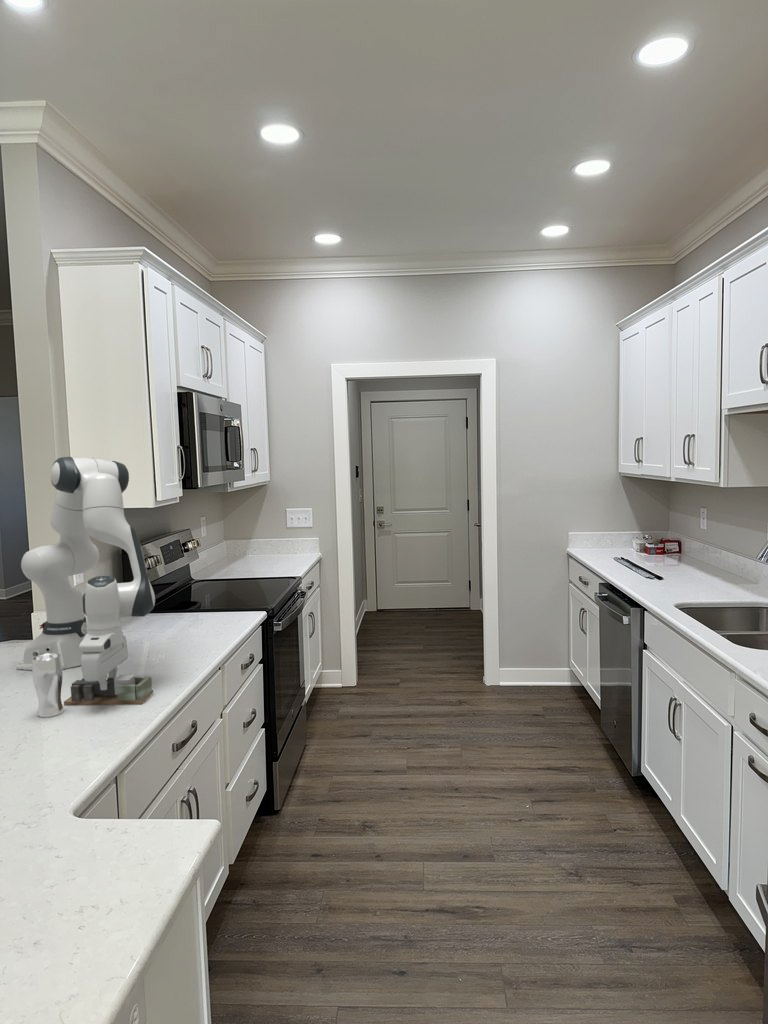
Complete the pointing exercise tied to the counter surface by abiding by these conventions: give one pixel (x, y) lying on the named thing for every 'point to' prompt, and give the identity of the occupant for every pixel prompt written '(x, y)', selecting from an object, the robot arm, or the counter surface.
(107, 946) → the counter surface
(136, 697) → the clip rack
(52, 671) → the beer glass
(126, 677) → the dark grey square bar
